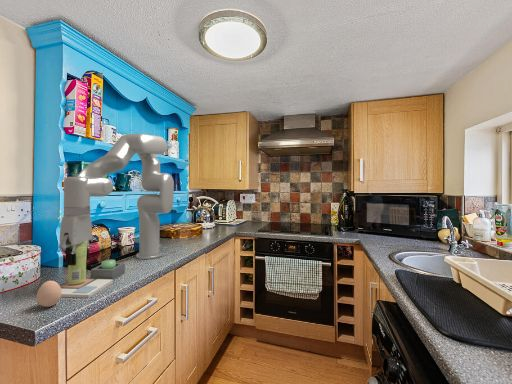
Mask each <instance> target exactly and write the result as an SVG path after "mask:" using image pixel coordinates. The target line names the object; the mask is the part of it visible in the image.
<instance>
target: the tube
mask: <svg viewBox="0 0 512 384" xmlns="http://www.w3.org/2000/svg"><path fill="white" fill-rule="evenodd" d="M69 244H71V243H69ZM69 248H70V249H71V248H72V247H70V246H69ZM74 253H76V265H67V269H68V270H67V272H68V274H67V275H68V282H69V284H71V285H74V284H80V283H83V282H85V281H86V278H87V277H86V276H87V260H86V255H87V240H86V241H85V242H83V243H81V244H78V245H76V248H75V252H74Z"/></svg>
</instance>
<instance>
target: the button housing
mask: <svg viewBox="0 0 512 384" xmlns="http://www.w3.org/2000/svg"><path fill="white" fill-rule="evenodd" d="M125 273H126V263H125V262H122V263H121V262H116V267H114V268H113V269H102V264H100V265H97V266H96V267H93V268H91V269H90V279H112V280H113V281H115V280H117V279H118V278H119V277H121V276H122V275H124V274H125Z"/></svg>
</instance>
